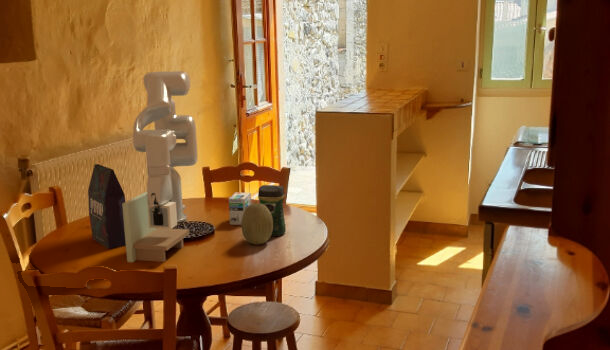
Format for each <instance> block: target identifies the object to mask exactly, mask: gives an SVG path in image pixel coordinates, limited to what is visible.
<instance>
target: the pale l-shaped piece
mask: <svg viewBox="0 0 610 350" xmlns="http://www.w3.org/2000/svg"><path fill="white" fill-rule="evenodd" d="M122 205H123V217H124V229H125V241H126V245H125V250H126V251H125V252H126V261H127V263H134V262H135V261H143V262H144V261H145V262H158V263H159V262H160V263H165V262H166V260H167V259H166V251H168V250H170V249H171V248H177V249H183V248H184V238H186V237H187V236H188V235H190V229H184V228H183V229H182V228H172V229H161V228H149V221H148V207H147V205H148V203H147V190H146V191H144V192H143V193H141V194H138V195H137V196H134V197H132V198H131V199H129V200H126V201H125V203H123V204H122Z"/></svg>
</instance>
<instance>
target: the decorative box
mask: <svg viewBox="0 0 610 350" xmlns="http://www.w3.org/2000/svg"><path fill="white" fill-rule="evenodd" d="M87 188H88V189H87V198H88V214H89V215H88V218H89V223H90V229H91V234H92V240H94V241H96V242H97V243H99V244H100V245H102V246H104V247H105V248H107V249H109V250H110V249H115V248H119V247H122V246H126V241H125V229H124V217H123V205H122V204H123V203H125V202H126V195H125V192H124V189H123V187H122V186H121V184H120V181H119V179H118V177H117V175H116V172H115V170H114V169H113V168H110V167H106V166H104V165H101V164H99V163H94V165H93V168H92V173H91V177H90V181H89V185H88V187H87Z"/></svg>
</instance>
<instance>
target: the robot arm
mask: <svg viewBox="0 0 610 350" xmlns="http://www.w3.org/2000/svg"><path fill="white" fill-rule="evenodd" d="M143 86H144V88H145V91H146V95H147V100H146V101H147V103H146V106H145V107H144V108H143V109H142V110H141V111H140V112H139V113H138V115H137V116H136V117H135V120H134V122H133V126H132V145H133V148H134V150H136V152H139V153H145V156H146V159H145V160H146V170H147V181H146V191H147V203H148V205H150V206H149V208H150V209H151V211H152V214H153V220H154V225H161V226H162V225H163V214H161V211H162V205H163V204H165V203H166V202H176V212H177V224H178V223H182V222H184V221H186V220H187V219H188V215H187V214H186V213H184V210H185V209H186V205H185V204H183V195H182V194H183V192H182V190H183V189H182V177H181V175H180V173H179V172H178V171H177V170H176V169H175V167H191V166H194V165H196V164H197V162H198V143H197V142H198V141H197V128H196V127H197V126H196V122H195V118H193V116H191V115H188V114H182V115H181V114H178V115H177V114H176V102H175V101H174V99H173V98H172V97H174V96H176V97H178V96H180V97H181V96H187V95H188V93H189V91H190V88H191V78H190V76H189V74H188V72H187V71H182V70H181V71H174V70H173V71H150V72H147V73H146V74H144V76H143ZM152 123H153V124H154V129H144V128H145V127H146V126H148V125H150V124H152ZM177 140H184V142H177ZM156 203H158V205H155V204H156ZM156 206H157V207H159V210H158V208H156Z"/></svg>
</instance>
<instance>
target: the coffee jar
mask: <svg viewBox="0 0 610 350" xmlns="http://www.w3.org/2000/svg"><path fill="white" fill-rule="evenodd" d="M257 197H258V198H257V199H258V201H259V203H261V204H263V205H265V206H266V207H267V208H268V209H269V211H270V213H271V215H272V218H273V231H272V234H271V236H270V237H276V236H277V237H279V236H282V235H284V234H285V233H286V231H287V230H286V222H285V221H286V220H285V213H284V198H285V197H286V196H285V189H284V186H283V185H272V184H271V185H270V184H269V185H267V184H263V185H261V186H259V188H258V194H257Z"/></svg>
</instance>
